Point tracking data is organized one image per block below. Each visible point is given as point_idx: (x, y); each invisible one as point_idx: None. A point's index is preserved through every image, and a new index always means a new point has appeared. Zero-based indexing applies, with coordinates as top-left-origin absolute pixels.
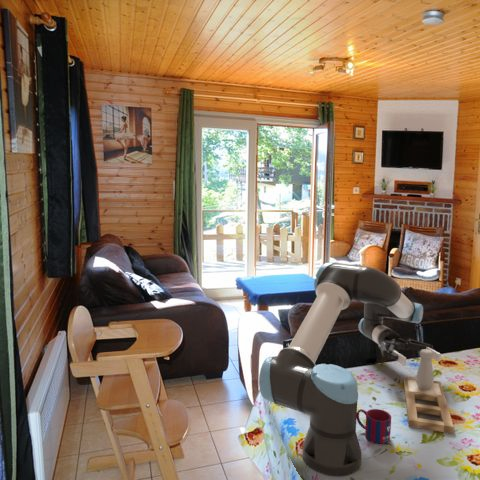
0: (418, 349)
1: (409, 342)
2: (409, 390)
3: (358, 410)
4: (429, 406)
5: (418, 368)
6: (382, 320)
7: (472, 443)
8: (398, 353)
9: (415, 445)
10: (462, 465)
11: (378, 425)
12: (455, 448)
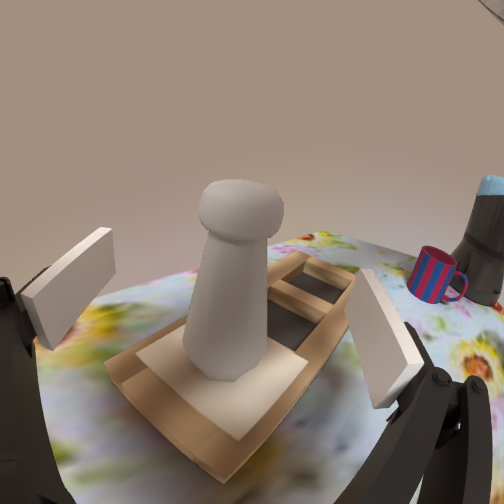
0: (33, 394)
1: (17, 460)
2: (304, 363)
3: (467, 280)
4: (296, 294)
5: (260, 309)
6: None
7: (280, 245)
8: (392, 316)
9: (373, 268)
10: (328, 237)
11: (436, 255)
12: (316, 249)
